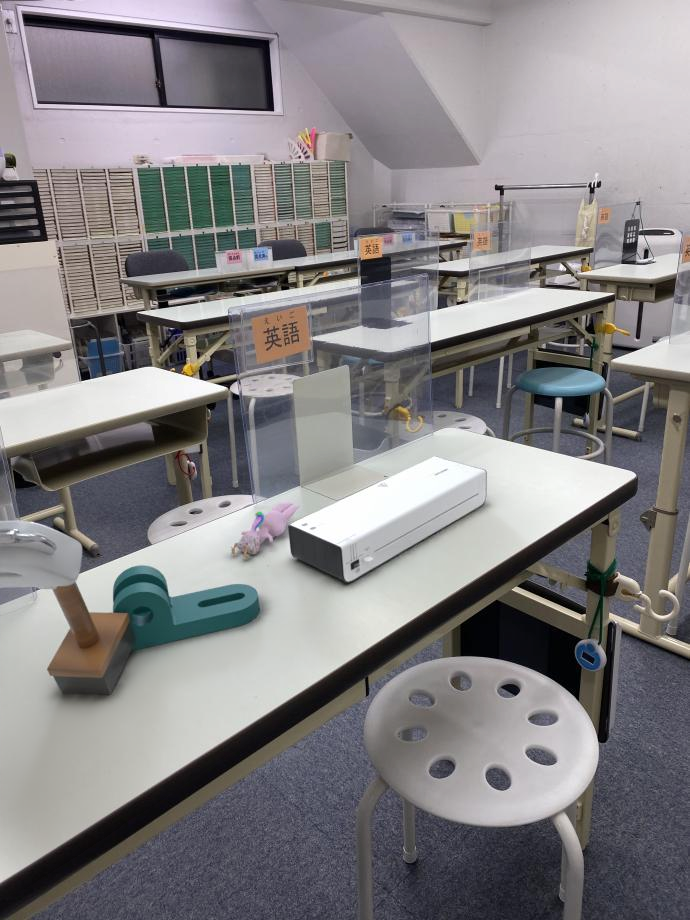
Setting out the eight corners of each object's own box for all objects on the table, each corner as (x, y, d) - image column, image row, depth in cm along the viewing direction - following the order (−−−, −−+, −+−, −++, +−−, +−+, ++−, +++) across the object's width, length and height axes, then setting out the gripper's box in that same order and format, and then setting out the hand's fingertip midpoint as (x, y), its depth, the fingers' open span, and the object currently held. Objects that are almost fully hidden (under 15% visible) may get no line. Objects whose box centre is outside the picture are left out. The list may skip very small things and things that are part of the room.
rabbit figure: (257, 570, 103) (312, 516, 113) (248, 538, 100) (305, 486, 111) (226, 561, 106) (282, 509, 117) (216, 530, 103) (275, 479, 114)
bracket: (120, 653, 84) (107, 598, 81) (120, 623, 90) (108, 571, 87) (264, 620, 89) (257, 567, 86) (254, 593, 95) (248, 543, 92)
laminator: (434, 487, 124) (434, 455, 121) (492, 505, 115) (492, 471, 113) (291, 561, 102) (287, 524, 100) (349, 590, 94) (346, 550, 91)
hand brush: (110, 696, 77) (69, 606, 69) (59, 694, 78) (13, 605, 70) (137, 637, 84) (103, 550, 76) (90, 636, 85) (51, 549, 76)
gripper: (41, 491, 50) (116, 544, 62) (-220, 500, 51) (-95, 550, 64) (25, 576, 47) (106, 614, 60) (-249, 583, 49) (-113, 618, 62)
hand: (0, 581), depth 62 cm, fingers open, 8 cm apart
